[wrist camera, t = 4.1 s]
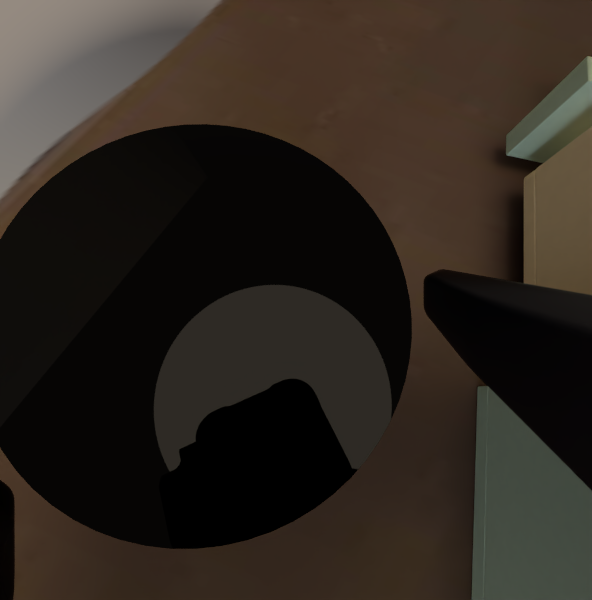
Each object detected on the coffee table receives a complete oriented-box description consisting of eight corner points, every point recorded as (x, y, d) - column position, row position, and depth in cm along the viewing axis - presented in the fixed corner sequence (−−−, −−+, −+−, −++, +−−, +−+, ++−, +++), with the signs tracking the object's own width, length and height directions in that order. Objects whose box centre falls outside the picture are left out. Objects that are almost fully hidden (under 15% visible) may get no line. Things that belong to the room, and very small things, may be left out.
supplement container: (285, 264, 17) (336, 91, 7) (333, 410, 16) (475, 451, 6) (134, 305, 16) (-62, 167, 6) (174, 467, 15) (12, 638, 5)
